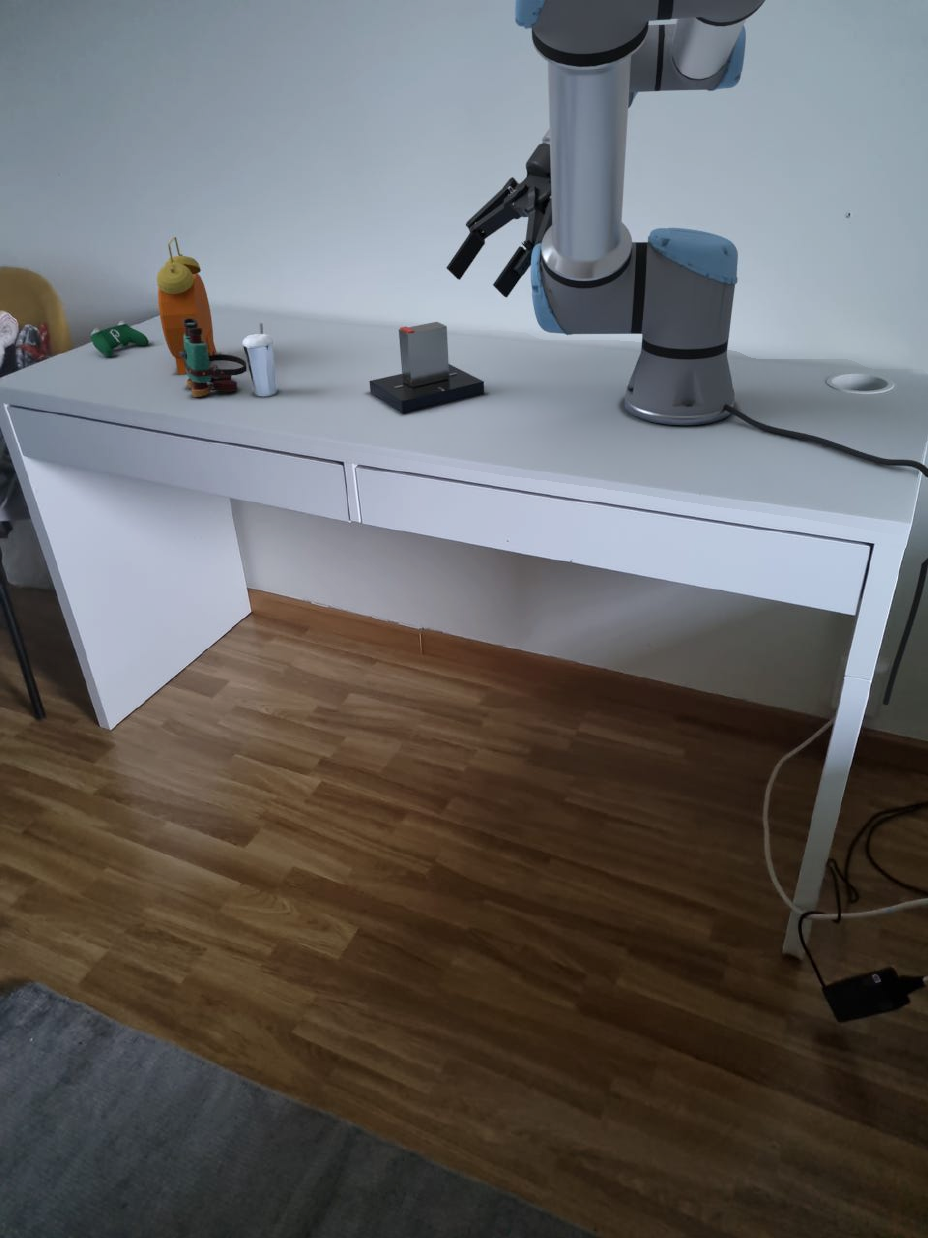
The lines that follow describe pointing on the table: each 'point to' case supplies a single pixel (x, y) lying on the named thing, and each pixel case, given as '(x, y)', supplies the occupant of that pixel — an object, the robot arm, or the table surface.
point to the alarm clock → (183, 304)
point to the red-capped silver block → (424, 354)
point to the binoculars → (206, 363)
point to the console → (426, 391)
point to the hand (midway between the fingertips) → (475, 282)
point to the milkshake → (261, 362)
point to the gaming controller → (116, 338)
